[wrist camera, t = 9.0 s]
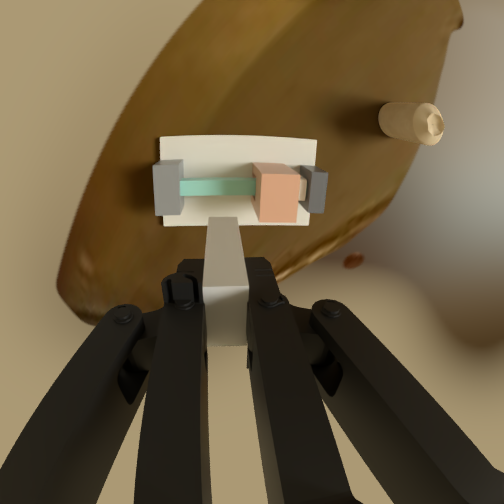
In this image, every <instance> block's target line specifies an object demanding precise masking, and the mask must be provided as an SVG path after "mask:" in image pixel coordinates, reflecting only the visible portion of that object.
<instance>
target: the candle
mask: <svg viewBox="0 0 504 504" xmlns="http://www.w3.org/2000/svg"><path fill="white" fill-rule="evenodd" d="M378 121H379V125H380V128H381V130H382V131H383V132H384V133H385V134H386V135H387V136H389V137H392V138H396V139H401V140H406V141H411V142H415V143H419V144H424V145H428V146H431V145H434V144H436V143H437V142H438V141H439V140H440V138H441V136H442V134H443V130H444V122H443V119H442V116H441V114H440V112H439V111H438V110H437V108H436V107H435V106H433V105H432V104H429V103H414V102H391V103H387V104H385V105H383V106H382V108H381V109H380V111H379V115H378Z"/></svg>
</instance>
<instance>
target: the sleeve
mask: <svg viewBox="0 0 504 504" xmlns="http://www.w3.org/2000/svg"><path fill="white" fill-rule="evenodd" d="M300 177H301V175H300V174H298V173H297V172H296V171H294V170H293V169H291V168H290V167H288V166H287V165H285V164H284V163H258V162H253V165H252V178H256V191H255V195H251V203H252V205H253V208H254V210H255V213H256V216H257V218H258V221H259V222H271V223H296V220H297V210H298V200H299V189H300Z"/></svg>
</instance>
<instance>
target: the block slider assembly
mask: <svg viewBox="0 0 504 504" xmlns="http://www.w3.org/2000/svg"><path fill="white" fill-rule="evenodd" d="M316 145H317V140H312V139H301V138H288V137H273V136H250V135H188V136H166V137H160V161H158V162H157V163H156V164H154V165H153V183H154V200H155V214H156V216H163V222H164V226H200V225H208V219H209V217H237V219H238V225H309V216H310V213H324V205H325V197H326V189H327V180H328V173H327V172H326V171H324V170H322V169H320V168H318V167H316V166H315V157H316ZM253 162H258V163H284V164H285V165H287V166H288V167H290V168H291V169H293V170H294V171H296V172H297V173H298V174H300V175H301V177H300V189H299V200H298V210H297V220H296V223H271V222H259V221H258V218H257V216H256V213H255V210H254V208H253V205H252V203H251V195H255V191H256V178H252V165H253Z"/></svg>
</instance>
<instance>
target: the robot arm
mask: <svg viewBox="0 0 504 504" xmlns="http://www.w3.org/2000/svg"><path fill="white" fill-rule="evenodd" d="M161 285H162V292H163V298H164V307H163V308H161V309H159V310H156V311H153V312H148V313H143V314H142V312H141V310H140V309H139V308H138V307H137V306H134V305H131V304H123V305H118V306H116V307H114V308H112V309H110V310H109V311H108V312H107V313H106V314H105V316H104V317H103V318H102V319H101V321H100V322H99V323H98V324H97V326H96V327H95V328H94V329H93V331H92V332H91V333H90V335H89V336H88V337H87V338H86V340H85V341H84V342H83V344H82V345H81V346H80V348H79V349H78V350H77V352H76V353H75V354H74V356H73V357H72V358H71V360H70V361H69V362H68V364H67V365H66V367H65V368H64V369H63V371H62V372H61V374H60V375H59V376H58V378H57V379H56V380H55V382H54V383H53V385H52V386H51V388H50V389H49V391H48V392H47V393H46V395H45V396H44V398H43V399H42V401H41V402H40V404H39V406H38V407H37V409H36V410H35V412H34V413H33V415H32V416H31V418H30V419H29V421H28V423H27V424H26V426H25V427H24V429H23V431H22V432H21V434H20V436H19V437H18V439H17V441H16V442H15V444H14V446H13V447H12V449H11V451H10V453H9V454H8V456H7V458H6V460H5V462H4V464H3V465H2V467H1V469H0V504H96V503H97V500H98V498H99V495H100V493H101V491H102V488H103V486H104V483H105V481H106V479H107V476H108V474H109V472H110V469H111V467H112V465H113V463H114V460H115V458H116V456H117V454H118V451H119V449H120V447H121V445H122V442H123V440H124V438H125V436H126V434H127V431H128V429H129V427H130V425H131V423H132V421H133V418H134V416H135V414H136V412H137V409H138V408H139V406H140V403H141V401H142V399H143V397H144V395H145V393H146V398H145V405H144V411H143V418H142V426H141V432H140V440H139V449H138V458H137V467H136V478H135V491H134V504H212V495H211V478H210V457H209V431H208V430H209V428H208V354H207V346H239V345H247V343H248V351H247V368H249V373H250V380H251V388H252V395H253V403H254V410H255V417H256V424H257V431H258V439H259V445H260V452H261V459H262V466H263V472H264V478H265V486H266V491H267V498H268V504H363V503H361V502H360V501H358V500H356V499H355V498H354V496H353V495H352V492H351V490H350V486H349V483H348V480H347V477H346V474H345V470H344V467H343V464H342V460H341V457H340V454H339V451H338V448H337V445H336V441H335V438H334V435H333V432H332V429H331V426H330V423H329V420H328V417H327V414H326V410H325V407H324V404H323V401H324V402H325V404H326V405H327V407H328V408H329V410H330V411H331V413H332V414H333V416H334V417H335V419H336V420H337V422H338V423H339V425H340V426H341V428H342V429H343V431H344V432H345V434H346V435H347V437H348V438H349V440H350V441H351V443H352V444H353V446H354V447H355V449H356V450H357V451H358V453H359V454H360V456H361V457H362V459H363V460H364V462H365V463H366V465H367V466H368V467H369V469H370V470H371V472H372V473H373V475H374V476H375V477H376V479H377V480H378V482H379V483H380V485H381V486H382V487H383V489H384V490H385V491H386V493H387V495H388V496H389V497H390V499H391V500H392V502H393V503H394V504H504V473H503V472H501V471H499V470H497V469H495V468H494V467H493V466H492V465H491V464H490V462H489V461H488V460H487V459H486V458H485V456H484V455H483V454H482V453H481V452H480V451H479V450H478V448H477V447H476V446H475V445H474V444H473V442H472V441H471V440H470V439H469V438H468V437H467V436H466V434H465V433H464V432H463V431H462V430H461V429H460V427H459V426H458V425H457V424H456V423H455V422H454V421H453V419H452V418H451V417H450V416H449V415H448V414H447V413H446V412H445V411H444V409H443V408H442V407H441V406H440V405H439V404H438V403H437V402H436V401H435V399H434V398H433V397H432V396H431V395H430V394H429V393H428V392H427V391H426V390H425V389H424V387H423V386H422V385H421V384H420V383H419V382H418V381H417V380H416V379H415V378H414V377H413V375H412V374H411V373H410V372H409V371H408V370H407V369H406V368H405V367H404V366H403V365H402V364H401V363H400V362H399V361H398V359H397V358H396V357H395V356H394V355H393V354H392V353H391V352H390V351H389V350H388V349H387V348H386V347H385V346H384V345H383V344H382V343H381V342H380V341H379V339H377V337H376V336H375V335H373V333H372V332H371V331H370V330H369V329H368V328H367V327H366V326H365V325H364V324H363V323H362V322H361V321H360V320H359V319H358V318H357V317H356V316H355V315H354V314H353V313H352V312H351V311H350V310H349V309H348V308H347V307H346V306H345V305H343V304H342V303H340V302H338V301H335V300H329V299H325V300H319V301H317V302H315V303H314V304H313V306H312V309H306V308H300V307H296V306H293V305H291V304H289V301H288V299H287V298H286V297H285V296H284V295H282V294H281V293H280V291H279V288H278V285H277V282H276V279H275V276H274V273H273V271H272V267H271V264H270V262H269V261H267V260H266V259H265V258H264V257H249V258H244V254H243V249H242V243H241V237H240V231H239V225H238V219H237V217H209V219H208V229H207V239H206V250H205V259H184V260H183V261H182V262H181V263H180V264H179V265H178V268H177V273H174V274H171V275H168V276H167V277H165V278H164V279H163V281H162V282H161ZM146 391H147V392H146ZM322 399H323V401H322Z"/></svg>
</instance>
